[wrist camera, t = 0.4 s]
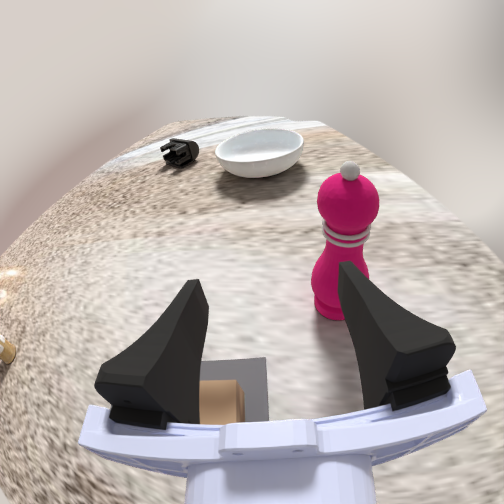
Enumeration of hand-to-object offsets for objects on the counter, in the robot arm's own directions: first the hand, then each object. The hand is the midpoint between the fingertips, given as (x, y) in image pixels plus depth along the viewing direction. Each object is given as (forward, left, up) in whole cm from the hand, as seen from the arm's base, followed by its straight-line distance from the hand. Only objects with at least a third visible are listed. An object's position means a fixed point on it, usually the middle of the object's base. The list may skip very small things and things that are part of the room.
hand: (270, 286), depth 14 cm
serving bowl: (+53, 0, -20) cm, 57 cm away
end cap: (+66, +23, -20) cm, 73 cm away
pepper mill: (+12, -8, -20) cm, 25 cm away
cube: (-2, +7, -19) cm, 21 cm away
